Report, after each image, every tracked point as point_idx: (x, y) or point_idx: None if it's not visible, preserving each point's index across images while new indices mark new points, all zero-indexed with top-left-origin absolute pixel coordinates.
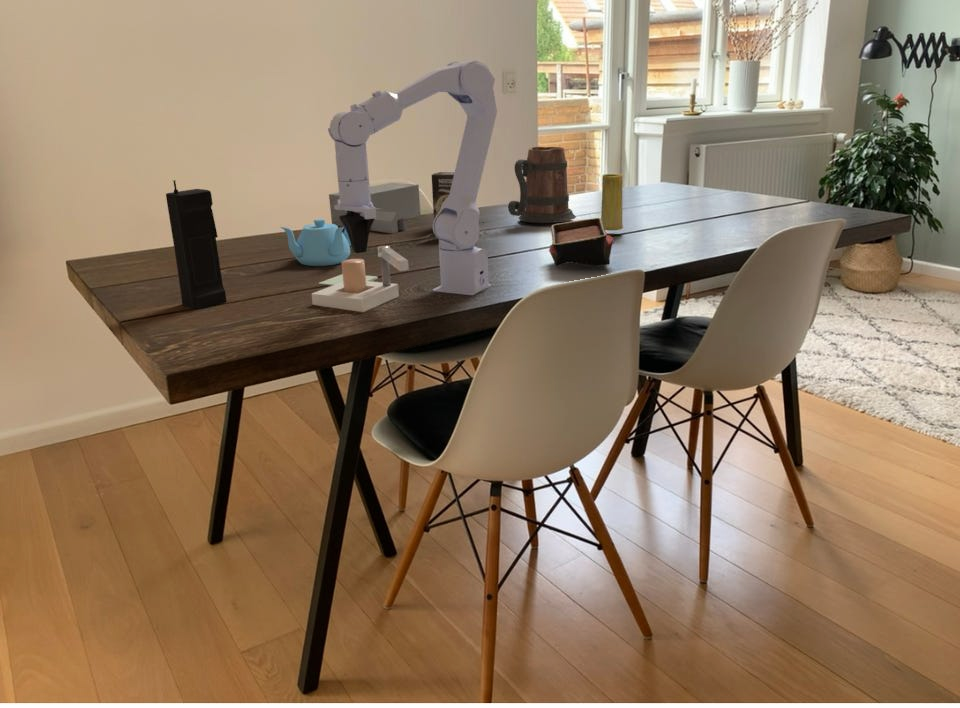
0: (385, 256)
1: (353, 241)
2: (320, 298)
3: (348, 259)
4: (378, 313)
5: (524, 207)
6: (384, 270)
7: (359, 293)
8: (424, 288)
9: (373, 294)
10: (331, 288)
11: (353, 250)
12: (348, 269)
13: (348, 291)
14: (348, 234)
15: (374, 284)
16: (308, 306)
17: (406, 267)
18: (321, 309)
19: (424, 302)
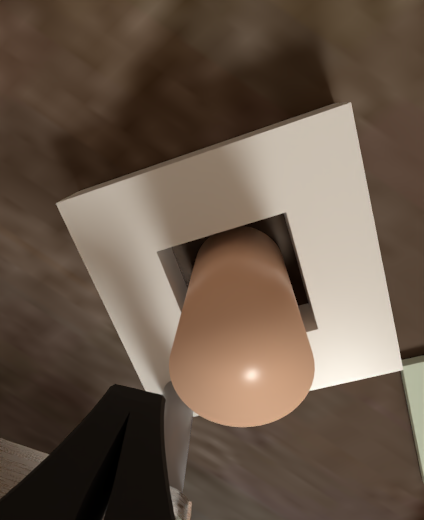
0: None
1: (62, 446)
2: (290, 121)
3: (311, 385)
4: (28, 221)
5: None
6: None
7: (154, 256)
8: (187, 482)
9: (94, 282)
10: (341, 229)
11: (152, 400)
12: (206, 298)
13: (223, 245)
14: (145, 517)
15: None
16: (351, 87)
17: None
18: (256, 100)
19: (43, 391)
